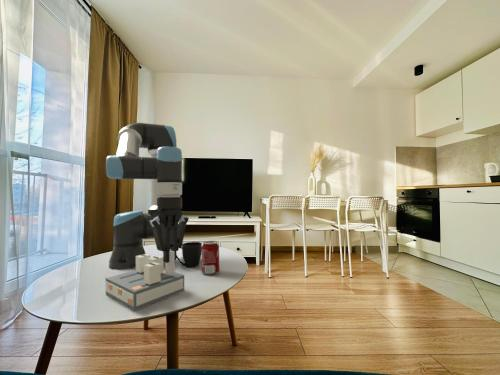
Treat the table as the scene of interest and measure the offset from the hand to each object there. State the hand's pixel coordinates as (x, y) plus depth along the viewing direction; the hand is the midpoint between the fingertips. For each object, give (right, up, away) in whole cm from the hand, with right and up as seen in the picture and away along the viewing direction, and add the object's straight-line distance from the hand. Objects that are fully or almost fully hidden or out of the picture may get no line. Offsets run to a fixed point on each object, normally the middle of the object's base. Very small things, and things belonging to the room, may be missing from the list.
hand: (169, 271), depth 75 cm
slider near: (-4, -1, -5) cm, 6 cm away
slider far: (-11, -2, +5) cm, 12 cm away
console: (-8, -7, +1) cm, 10 cm away
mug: (-2, -8, +27) cm, 28 cm away
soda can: (+10, -7, +19) cm, 22 cm away
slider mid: (-5, -1, +3) cm, 6 cm away
